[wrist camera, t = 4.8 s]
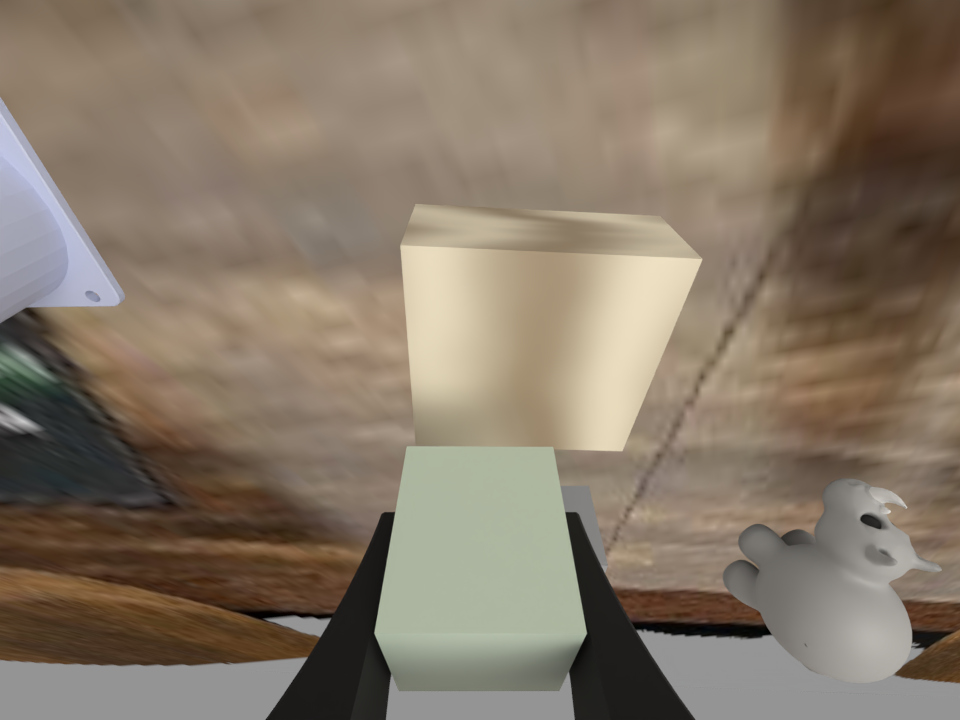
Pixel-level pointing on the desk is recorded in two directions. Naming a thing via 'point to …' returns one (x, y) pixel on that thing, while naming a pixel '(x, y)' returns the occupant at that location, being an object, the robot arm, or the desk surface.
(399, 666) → the sage cube
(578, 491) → the grey cube
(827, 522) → the round bodied animal figurine
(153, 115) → the desk surface
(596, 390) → the birch block
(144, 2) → the desk surface
